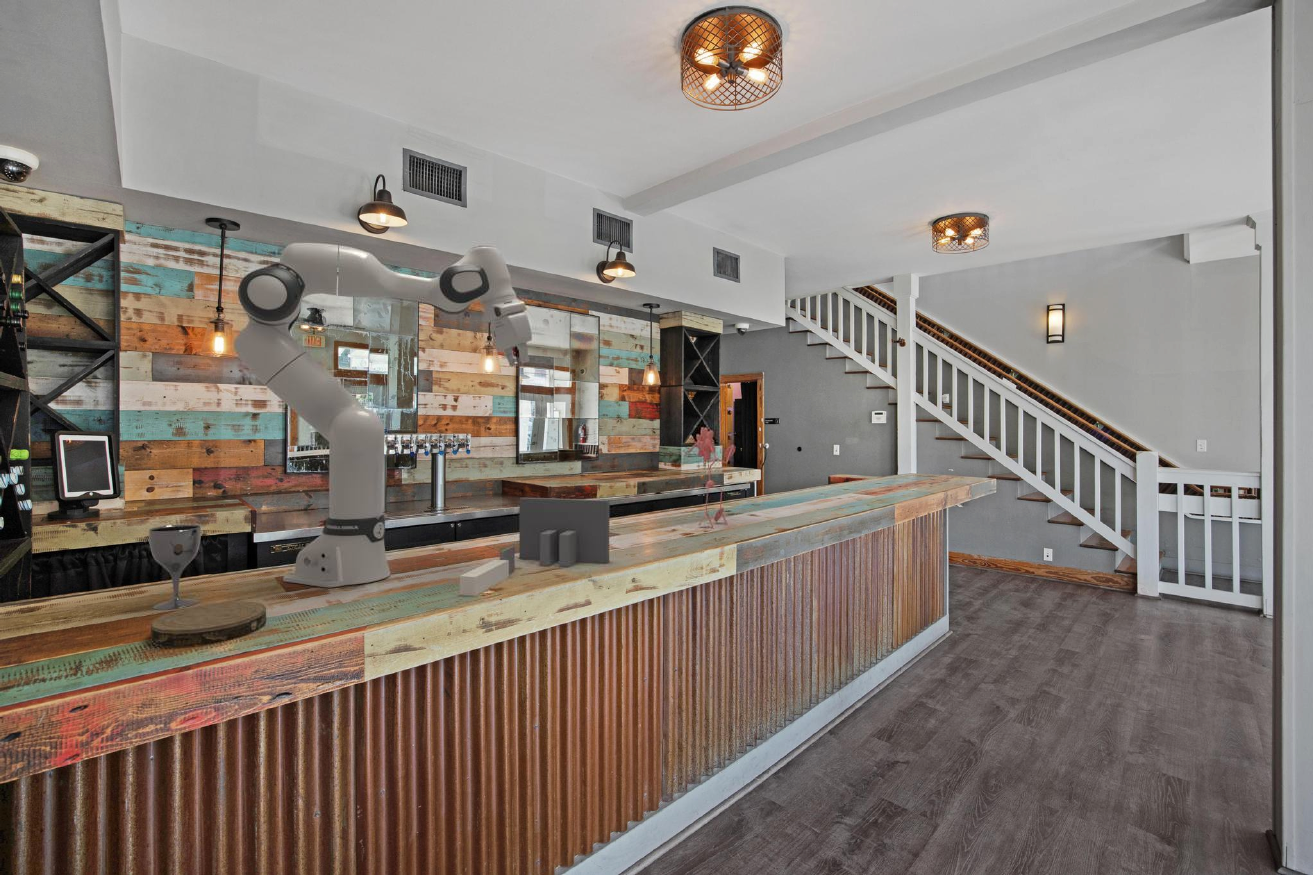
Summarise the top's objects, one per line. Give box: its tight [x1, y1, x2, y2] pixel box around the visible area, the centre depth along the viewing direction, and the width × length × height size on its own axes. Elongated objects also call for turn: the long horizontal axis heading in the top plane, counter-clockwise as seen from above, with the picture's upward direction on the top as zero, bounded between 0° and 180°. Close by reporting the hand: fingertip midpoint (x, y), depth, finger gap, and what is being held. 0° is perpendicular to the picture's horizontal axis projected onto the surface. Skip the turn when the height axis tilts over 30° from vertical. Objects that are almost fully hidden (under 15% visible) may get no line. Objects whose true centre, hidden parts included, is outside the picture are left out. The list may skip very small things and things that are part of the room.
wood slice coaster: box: [150, 600, 267, 648], centre depth 105 cm, size 16×16×3 cm
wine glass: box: [148, 524, 202, 611], centre depth 120 cm, size 8×8×15 cm
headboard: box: [518, 497, 610, 568], centre depth 158 cm, size 24×8×16 cm, turn 79°
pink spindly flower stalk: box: [681, 426, 736, 528], centre depth 220 cm, size 15×26×35 cm, turn 142°
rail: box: [459, 545, 516, 597], centre depth 138 cm, size 4×22×6 cm, turn 169°
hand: (519, 364), depth 158 cm, fingers open, 8 cm apart
